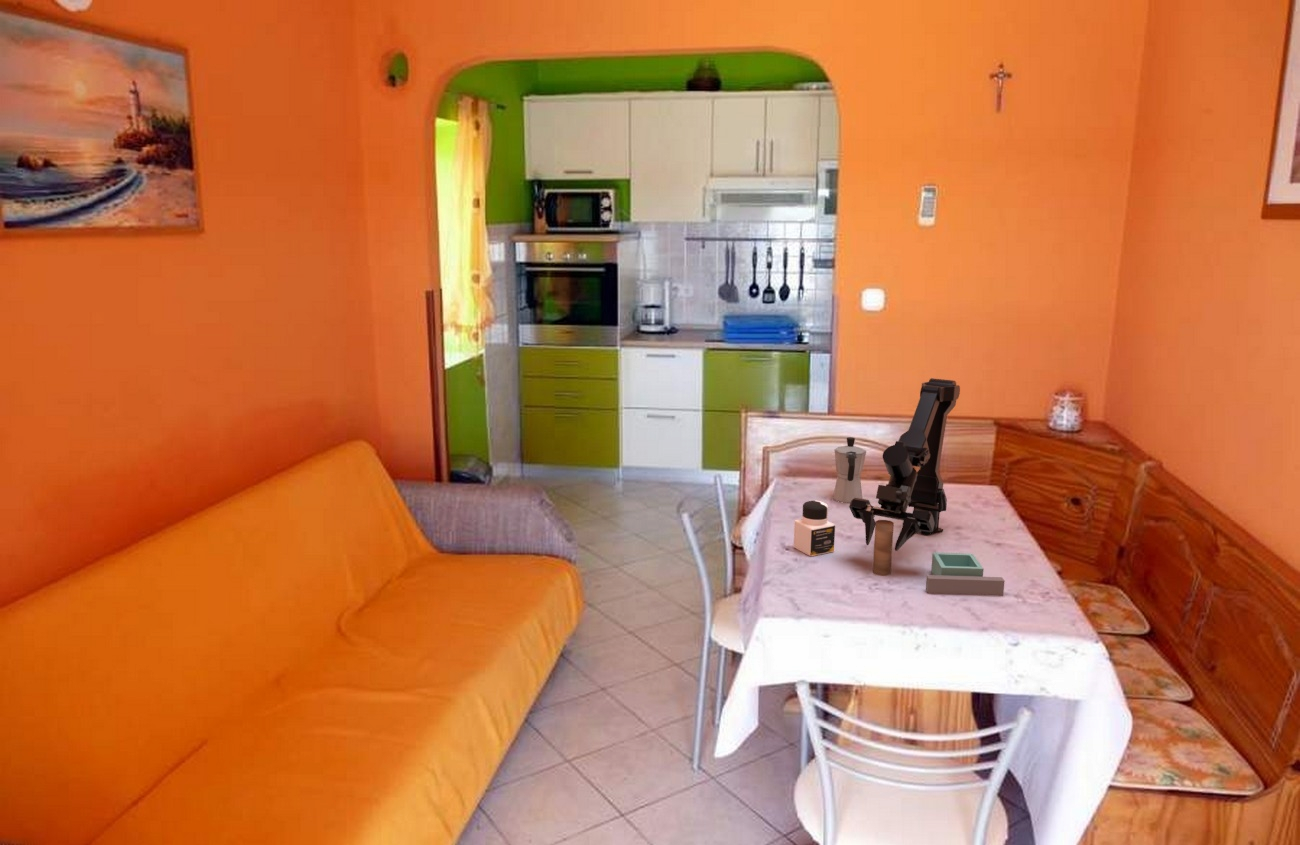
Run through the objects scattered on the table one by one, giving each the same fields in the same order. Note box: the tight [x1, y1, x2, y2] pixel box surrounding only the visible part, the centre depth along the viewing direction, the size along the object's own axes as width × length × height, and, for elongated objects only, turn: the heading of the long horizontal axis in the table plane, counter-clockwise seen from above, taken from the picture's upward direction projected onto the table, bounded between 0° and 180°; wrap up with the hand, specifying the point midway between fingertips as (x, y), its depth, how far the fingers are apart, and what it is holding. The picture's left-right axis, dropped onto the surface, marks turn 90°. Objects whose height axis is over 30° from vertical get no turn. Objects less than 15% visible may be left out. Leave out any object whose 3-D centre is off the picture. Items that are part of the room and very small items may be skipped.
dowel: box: [872, 519, 895, 577], centre depth 214 cm, size 4×4×12 cm
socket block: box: [930, 552, 984, 577], centre depth 211 cm, size 9×9×4 cm
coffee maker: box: [832, 436, 867, 504], centre depth 265 cm, size 15×9×18 cm, turn 172°
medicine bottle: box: [793, 500, 836, 557], centre depth 228 cm, size 7×7×12 cm
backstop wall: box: [925, 574, 1005, 597], centre depth 204 cm, size 2×16×4 cm, turn 86°
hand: (881, 547), depth 213 cm, fingers open, 6 cm apart
